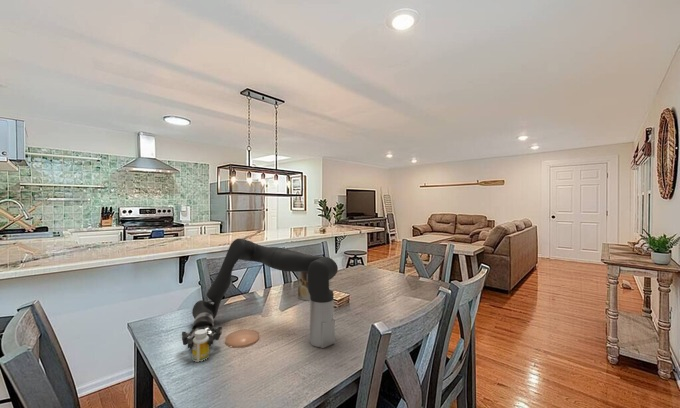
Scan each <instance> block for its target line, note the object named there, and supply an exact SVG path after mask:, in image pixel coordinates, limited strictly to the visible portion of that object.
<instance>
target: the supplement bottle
mask: <svg viewBox="0 0 680 408" xmlns="http://www.w3.org/2000/svg"><path fill="white" fill-rule="evenodd" d="M191 350H192V352H191V353H192V356H191V357H192V358H191V359H192V361H193V362H194V361H195V363H200V362H199V361H201V362H203V360H204V361H206V360H208V359H209V357H210V346H209V337H208V336H207V330H206V329H200V330H197V331H196V332H195V338H194V339H193V341H192V349H191ZM207 358H208V359H207ZM205 359H206V360H205Z"/></svg>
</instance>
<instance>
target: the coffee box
mask: <svg viewBox="0 0 680 408" xmlns="http://www.w3.org/2000/svg"><path fill="white" fill-rule="evenodd" d="M297 298H298V300H303V301H308V302H310V294H309V291H308V272H297Z"/></svg>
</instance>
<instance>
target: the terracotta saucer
mask: <svg viewBox="0 0 680 408" xmlns="http://www.w3.org/2000/svg"><path fill="white" fill-rule="evenodd" d="M259 340H260V332H258V331H257V330H254V329H251V328H250V329H248V328H247V329H240V330H235V331H232V332H230V333H228V334H227V335H226V336H225V338H224V342H225V343H224V344H225V345H226V344H227V345H228V347H230V346H232V347H231V348H234V347H241V348H246V346H247V347H249V346H252V345H255V344H256V343H258V341H259ZM227 345H226V346H227Z"/></svg>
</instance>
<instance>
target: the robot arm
mask: <svg viewBox="0 0 680 408" xmlns="http://www.w3.org/2000/svg"><path fill="white" fill-rule="evenodd" d="M239 260H241V261H247V262H255V263H259V264H263V265H265V266H266V267H268V268H271V269H274V270H278V271H282V272H290V273H291V272H292V273H293V272H296V273H298V272H308V291H309V294H310V301H309V304H310V305H309V343H310V345H311V346H313V347H316V348H321V349H325V348H328V347H330V346H331V345H334V344H335V340H336V339H335V338H336V337H335V336H336V335H335V334H336V333H335V332H336V328H335V326H336V320H335V319H334V299H335V298H334V291H333V290H332V289H330V280H331V279H334V277H335V276H336V275H337V274H338V272H339V271H338V270H339V268H338V264H337V263H336V261H335V260H333V259H332V258H331V257H329V256H328V257H327V256H319V255H310V254H306V253H302V252H299V251H296V250H291V249H287V248H283V247H278V246H276V247H275V246H270V247H269V246H264V245H261V244H258V243H255V242H253V241H251V240H247V239H245V238H236V239H234V240H233V241H232V242H231V244H230V245H229V248H228V249H227V252H226V255H225V257H224V259H223V261H222V264H221V267H220V268H219V271H218V272H217V273H218V274H217V275H216V278H215V279H214V281H213V282H212V284H211V286H210V287H209V289H208V290H207V293H206V297H207V298H208V299H209V300H210V301H211V302H213V303H211V302H208V301H206V300H203V299H201V300H198V301H196V302H195V304H194V305H193V306H192V312H191V313H192V316H193V319H194V320H193V323H192V329H191V330H190V331H189V332H187V331H182V332H181V341H182V344H183V345H184V346H186V345H187V349H189V350H192V341H193V339H194V338H195V332H196V331H197V330H200V329H206V330H207V336H208V337H209V347H211V346H212V345H213V344H214V341H218V340H219V339H220V338H221V335H222V332H223V331H222V326H218V327H217V328H214V326H215V324H214V323H215V322H214V319H216V318H217V315H218V312H219V307H220V304H221V302H222V299H223V297H224V296H225V294H226V293H227V291H228V289H229V287H230V285H231V283H232V282H231V281H232V274H233V273H232V272H233V269H234V267H235V265H236V264H237V262H238V261H239Z"/></svg>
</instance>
